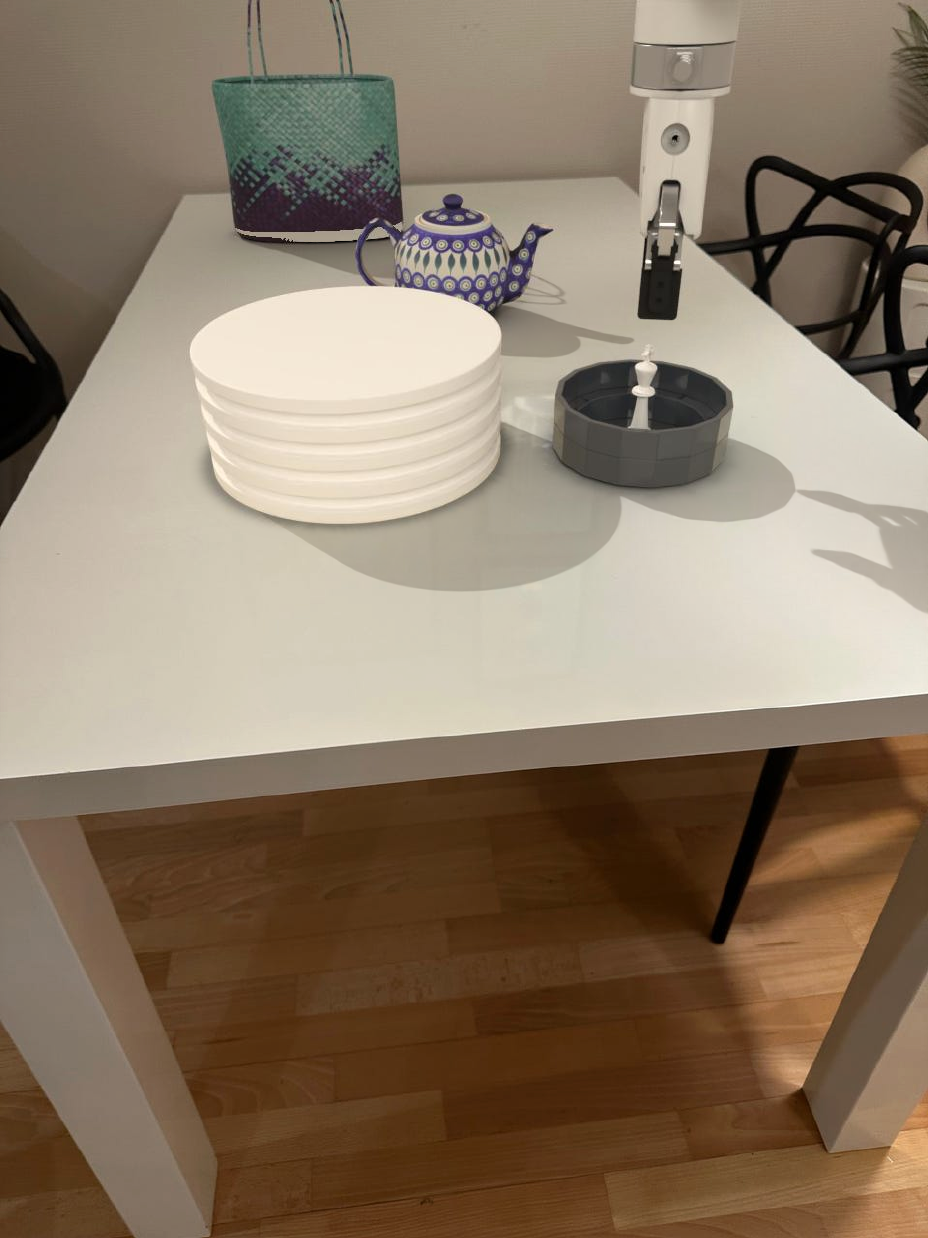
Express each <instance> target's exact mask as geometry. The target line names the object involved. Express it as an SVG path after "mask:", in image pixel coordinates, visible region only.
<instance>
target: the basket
mask: <svg viewBox="0 0 928 1238" xmlns="http://www.w3.org/2000/svg"><path fill="white" fill-rule="evenodd" d="M252 1H253V0H248V1H247V32H246V33H247V35H246V37H247V38H246V40H247V42H246V43H247V57H248V65H249V75H241V76H230V77H222V78H216V79H213V80H212V82H211V91H212V97H213V103H214V107H215V112H216V117H217V121H218V126H219V131H220V135H221V140H222V145H223V150H224V155H225V160H226V167H227V174H228V182H229V183H228V184H229V190H230V191H229V192H230V202H231V210H232V219H233V220H232V221H233V227H234V229H235V228H237V229H240V230H243V231H250V232H315V231H340V230H354V229H364V228H365V227H366V225H367V224H368V223H369V222H371V221H372V220H374V219H375V218H382V219H385V220H386V221H388V222H389V223H390V224H392V225H396V224H398V223H400V222H402V221H403V222H404V210H403V197H402V183H401V182H402V181H401V169H400V152H399V151H400V150H399V134H398V119H397V117H398V116H397V105H396V104H397V103H396V91H395V83H394V79H393V78H392V77H391V76H387V75H383V74H381V75H380V74H371V73H354V69H353V62H352V52H351V46H350V45H351V43H350V38H349V33H348V29H347V25H346V20H345V17H344V13H343V7H342V6H341V5H342V4H341V1H340V0H335V2H336V4H337V8H338V11H339V15H340V19H341V23H342V28H343V33H344V35H345V43H346V50H347V57H348V66H349V73H345V71H344V60H343V59H344V58H343V47H342V39H341V33H340V30H339V29H340V28H339V24H338V18H337V12H336V8H335V3H334V0H329V4H330V6H331V7H330V8H331V12H332V17H333V22H334V28H335V33H336V38H337V44H338V55H339V66H340V67H339V68H340V73H299V74H298V73H296V74H295V73H294V74H268V71H267V66H266V58H265V52H264V46H263V40H262V25H261V22H262V21H261V5H260V3H261V0H256V17H257V35H258V36H257V38H258V43H259V49H260V56H261V57H260V58H261V62H262V68H263V74H262V75H261V74H260V75H259V74H258V75H254V67H253V59H252V57H253V56H252V48H251V46H252V45H251V29H252V28H251V27H252V26H251V25H252V24H251V23H252V22H251V20H252V19H251V18H252V15H251V12H252V10H251V9H252V8H251V7H252ZM236 233H237V234H238V235H239V236H240V237H242V238H245V239H248V240H254V241H257V242H264V241H266V242H265V243H282V242H290V241H289V239H288V240H287V241H286V240H285V239H286V238H284V239H283V240H282V239H281V238H272V237H256V236H249V235H244V234H241V233H239V232H237V231H236ZM291 242H293V240H292V241H291Z"/></svg>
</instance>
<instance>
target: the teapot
mask: <svg viewBox="0 0 928 1238" xmlns="http://www.w3.org/2000/svg"><path fill="white" fill-rule="evenodd" d="M463 203H464V198H463V197H462V196H461V195H459V194H458V193H457V194H456V193H449V194H447V195H445V196H444V197H442V204H443V205H444V206H443V207H438V208H433V209H430V210H426V211H424V212H423V213H420V214H417V215H416V216H415V217H414V223H413V224H412V225H410V226H409V227H408V228H406V229H405V231H401V232H400V231H399V230H398V229H396V228H395V227H394V226H393V225H392V224H390V223H389V222H388V221H386V220H385V219H382V218H375V219H374V220H372V221H371V222H369V223H368V224H367V225H366V227H365V228H364V229H363V231H362V232H361V234H360V236H359V238H358V241H356V247H355V253H354V255H355V262H356V267H357V270H358V273H359V274H360V276H361V279H363V281H364V282H365V283H366V284H367V286H386V287H402V288H411V289H419V290H426V291H431V292H436V293H441V294H445V295H449V296H453V297H456V298H459V299H462V300H465V301H467V302H470V303H472V304H474V305H476V306H478V307H480V308H481V309H483V310H485V311H486V312H487V313H489V314H490V315H491V313H494V312H495V311H497V310H498V309H500V307H501V306H503V305H505V304H509V303H512V302H514V301H516V300H518V299H519V298H521V296H522V295H523V294H524V292H525V291H526V289H527V287H528V285H529V284H530V283H529V282H530V280H531V276H532V271H533V267H534V266H533V265H534V261H535V256H536V252H537V248H538V245H539V242H540V239H542V238H543V237H545V236H547V235H548V234H550V233H551V232H553V231H554V229H553V227H551V226H550V225H548V224H545V223H542V222H533V223H531V224H530V225H529V226H528V227H527V229H526V230H525V232H524V234H523V236H522V238H521V240H520V243H519V245H518V246H516V247H515V248H514V249H513V250H511V248H510V247H509V244H508V242H507V240H506V238H505V237H504V235H503V234H502V232H501V231H500V230H498V229H497V228H496V227H495V226H494V224H493V223H492V218H491V216H489V215H488V214H487V213H485V212H483V211H480V210H475V209H470V208H465V207H462V205H463ZM377 227H382V228H383V229H385V230H386V231H387V233H388V234H389V237H388V238H389V239H390V243H391V245H392V248H393V250H394V267H393V268H394V277H395V282H394V283H393V284H385V283H382V282H379V281H377V280H376V279H375V278H374V277H373V276H372V275H371V274H370V273H369V272H368V270H367V269H366V266H365V264H364V258H363V249H364V246H365V243H366V242H367V241H366V239H367V238H368V236H369V234H370V233H371V232H372V231H373V230H374V229H375V228H377Z"/></svg>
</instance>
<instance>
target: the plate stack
mask: <svg viewBox="0 0 928 1238" xmlns="http://www.w3.org/2000/svg"><path fill="white" fill-rule="evenodd" d="M502 335H503V334H502V329H501V327H500V325H499V323H498V322H497V320H496V319H495V317H493V315H492V314H491V313H490V314H489V313H487V312H486V311H485V310H483V309H481V308H480V307H478V306H476V305H474V304H472V303H470V302H467V301H465V300H462V299H459V298H456V297H453V296H449V295H445V294H441V293H436V292H431V291H426V290H419V289H411V288H402V287H386V286H370V285H353V286H351V285H350V286H349V285H348V286H333V287H325V288H324V287H323V288H314V289H308V290H299V291H294V292H289V293H285V294H279V295H276V296H271V297H267V298H264V299H260V300H257V301H254V302H250V303H247V304H245V305H242V306H239V307H237V308H233V309H232V310H230V311H228V312H226V313H224V314H222V315H219V316H218V317H216V318H215V319H213V320H211V321H210V322H209V323H207V324H206V325H205V326H203V327H202V328H201V329H200V330H199V331H198V332H197V333H196V335H194V337H193V339H192V341H191V343H190V347H189V359H190V363H191V368H192V372H193V374H194V375H195V381H194V382H195V386H196V391H197V396H198V399H199V401H200V410H201V415H202V419H203V424H204V428H205V431H206V432H205V433H206V434H205V435H206V439H207V444H208V449H209V451H210V454H211V455H210V456H211V462H212V467H213V472H214V476H215V478H216V480H217V482H218V484H219V485H220V486H221V488H222V489H223V490H224V491H225V492H226V494H228V495H229V496H231V498H233V499H235V500H236V501H238V502H239V503H241V504H243V505H245V506H246V507H249V508H251V509H253V510H255V511H258V512H260V513H264V514H267V515H269V516H273V517H277V518H281V519H287V520H292V521H296V522H297V521H298V522H302V523H303V522H304V523H314V524H327V525H330V524H331V525H348V524H349V525H352V524H366V523H376V522H384V521H390V520H395V519H402V518H406V517H410V516H414V515H418V514H421V513H424V512H428V511H431V510H434V509H437V508H440V507H442V506H444V505H446V504H449V503H451V502H454V501H456V500H458V499H460V498H462V497H464V496H465V495H467V494H468V493H470V492H471V491H473V490H475V488H477V487H478V486H479V485H481V484H482V483H483V482H484V481H485V480H486V479H487V478H488V477H489V476H490V475H491V474H492V472H494V471H493V470H495V468H496V466H497V464H498V462H499V460H500V456H501V425H502V424H501V421H502V412H501V403H502V386H501V385H502V384H501V380H502V358H501V354H502V344H503V343H502V341H503V340H502V338H503V337H502Z"/></svg>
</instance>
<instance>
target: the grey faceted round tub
mask: <svg viewBox="0 0 928 1238" xmlns="http://www.w3.org/2000/svg"><path fill="white" fill-rule="evenodd" d="M640 362H644V360H642V359H636V358H635V359H632V358H629V359H617V360H607V361H597V362H595V363H591V364H589V365H586V366H582V367H578V368H575V369H573V370H572V371H571V372H569V373H568V374H566V375H565V376H564V377H562V378H561V379H559V380H558V383H557V386H556V390H555V394H554V406H553V407H554V411H553V428H552V429H553V430H552V448H553V450H554V451H555V453H556V455H557V456H558V458H559V459H560V462H561V463H563V464H564V465H566V466H567V467H569V468H571V469H572V470H574V471H576V472H577V473H579V474H580V475H582V476H584V477H587V478H592V479H594V480H598V481H601V482H605V483H609V484H611V485H612V484H613V485H617V486H627V487H637V488H638V487H639V488H651V489H652V488H660V487H661V488H662V487H669V486H678V485H685V484H688V483H692V482H693V481H696V480H698V479H701V478H704V477H706V476H709V475H711V474H712V473H713V472H714V471H715V470H716V469H717V467H718V466H719V465H720V464H721V463H722V462H723V461H724V460H725V455H726V449H727V444H728V439H729V432H730V428H731V427H730V426H731V423H732V418H733V417H732V416H733V410H734V399H733V392H732V390H731V389H729V387H727V385H725V384H724V383H723V382H722V381H721V380H720V379H719V378H718V377H717V376H713V375H711V374H709V373H706V372H704V371H702V370H699V369H698V368H695V367H692V366H688V365H683V364H678V363H673V362H668V361H664V360H651V359H650V362H651V363H654V364H655V365H656V366H657V371H656V373H655V375H654V377H653V379H652V382H651V384H650V386H651V387H653V388H654V390H655V394H654V395H653V396H650V397H648V428H650V429H637V428H628V427H630V426H631V423H632V419H633V415H634V411H635V407H636V402H637V397H638V396H636V395H634V394H633V393H632V390H633V388H634V387H635V386H638V385H639V384H638V380H637V374H636V371H635V366H636V364H638V363H640Z"/></svg>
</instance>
